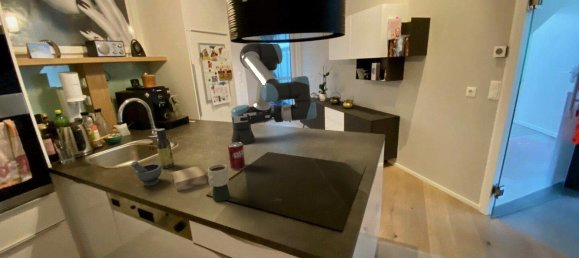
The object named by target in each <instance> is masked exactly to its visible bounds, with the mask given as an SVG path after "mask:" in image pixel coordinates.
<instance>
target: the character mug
mask: <svg viewBox="0 0 579 258" xmlns="http://www.w3.org/2000/svg"><path fill="white" fill-rule="evenodd" d="M207 176H208V185H209V187H212V200H213V201H216V202H222V201H226V200H228V199H229V198H230V197H231V196H230V195H231V193H230V189H229V186H228V183H229V182H230V179H229V177H230V176H229V170H228V165H227V164H225V163H216V164H215V163H214V164H212V165H209V167H208V168H207Z"/></svg>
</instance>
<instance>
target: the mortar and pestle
mask: <svg viewBox="0 0 579 258" xmlns="http://www.w3.org/2000/svg"><path fill="white" fill-rule="evenodd" d="M130 166H131V168H134V169H135V174H136V176H137V178H138V180H140V181H141V182H143V183H142V184H143V185H144V186H145V187H149V186H154V185H156V184H158V183H159V182H160V178H159V177H160V176H161V174H162V168H161V164H159V163H152V164H145V165H141V164H140V163H139V161H138V160H135V161H133V162H132V163H131V164H130Z"/></svg>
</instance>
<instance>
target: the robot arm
mask: <svg viewBox="0 0 579 258" xmlns="http://www.w3.org/2000/svg"><path fill="white" fill-rule="evenodd" d="M279 44H280V43H277V44H249V43H247V44H245V45H244V46H243V47H242V48H241V49H240V51H239V61H240V63H241V65H242V66H243V67H244V68H245V69H246V70H248V71H249V72H250V74H251V75H252V76H253V78H254V80H255V81H256V82H257V85H256V96H255V100H254V101H253V103H252V106H250V105H249V104H241V105H237V106H234V107H233V108H232V109H231V110H230V114H231V115H230V117H231V123H232V129H233V131H232V135H231V143H235V142H240V143H242V144H243V146H244V145H248V144H252V143H254V142H255V140H256V139H255V138H256V137H255V134H254V132H253V130H252V125H257V124H261V123H267V122H270V121H272V119H273V120H274V122H275V123H283V122H289V123H292V122H294V121H295V122H296V121H305V120H313V119H316V118H317V113H318V112H317V104H316V102H315V101H314V102H313V101H312V100H311V88H310V86H311V85H310V80H309V77H308V76H306V75H304V76H303V75H301V76H295V77H294V76H293V77H292V79H291V81H286V82H279V80H278V79H277V78H276V77H275V76H274V72H275V71H276V70H277V68H278V65H280V64H281V63H282V62H283V58H284V57H283V52H282V48H281V46H280V45H279ZM288 100H293V101H294V104H283V105H277V106H272V104H271V103H275V102H281V101H288Z"/></svg>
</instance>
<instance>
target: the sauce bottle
mask: <svg viewBox="0 0 579 258" xmlns="http://www.w3.org/2000/svg"><path fill="white" fill-rule="evenodd" d="M155 133H156V136H157V141H156V148H157V154H158V159H159V163H160V164H159V165H160V166H161V169H169V168H172V167H174V165H175V160H174V155H173V150H172V146H171V142H170V140H169V139H168V138H167V133H166V129H165V128H157V129H156V130H155Z"/></svg>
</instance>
